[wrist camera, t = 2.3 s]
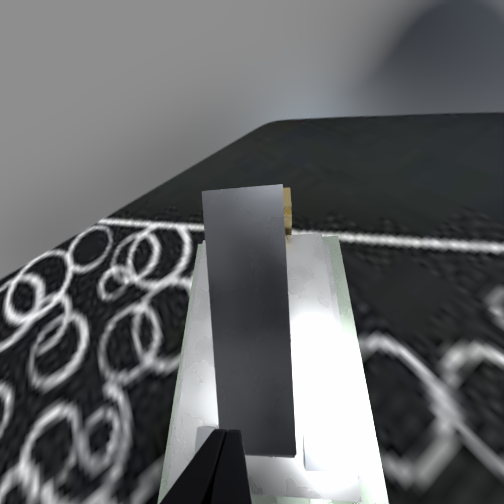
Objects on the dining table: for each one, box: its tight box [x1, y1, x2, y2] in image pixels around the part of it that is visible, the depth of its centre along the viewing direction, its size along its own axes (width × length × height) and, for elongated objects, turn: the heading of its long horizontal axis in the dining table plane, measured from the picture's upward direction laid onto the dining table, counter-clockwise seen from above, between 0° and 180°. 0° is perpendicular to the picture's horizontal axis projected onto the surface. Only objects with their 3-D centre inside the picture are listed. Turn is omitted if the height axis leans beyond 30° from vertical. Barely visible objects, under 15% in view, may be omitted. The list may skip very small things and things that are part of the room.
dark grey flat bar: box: [202, 184, 297, 458], centre depth 13 cm, size 14×4×1 cm
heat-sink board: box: [158, 188, 389, 504], centre depth 18 cm, size 21×15×9 cm
